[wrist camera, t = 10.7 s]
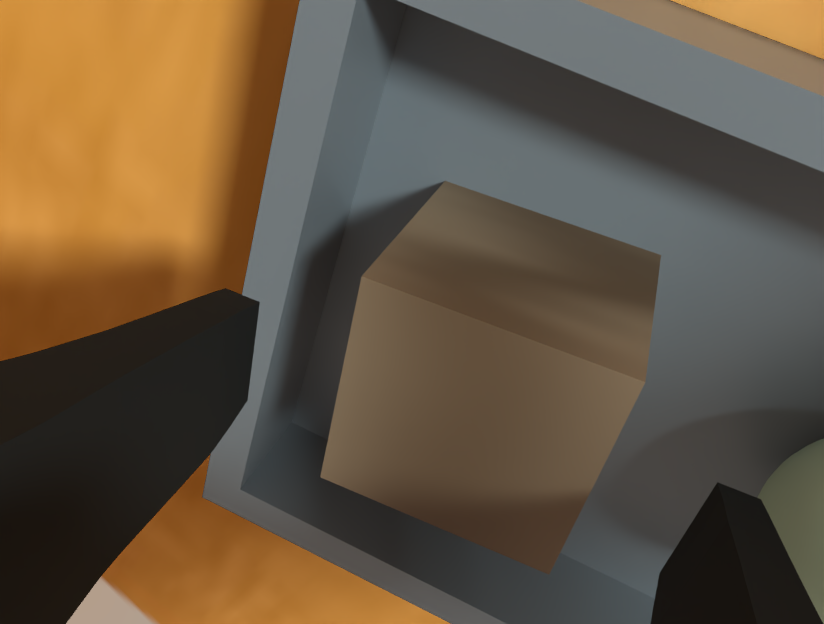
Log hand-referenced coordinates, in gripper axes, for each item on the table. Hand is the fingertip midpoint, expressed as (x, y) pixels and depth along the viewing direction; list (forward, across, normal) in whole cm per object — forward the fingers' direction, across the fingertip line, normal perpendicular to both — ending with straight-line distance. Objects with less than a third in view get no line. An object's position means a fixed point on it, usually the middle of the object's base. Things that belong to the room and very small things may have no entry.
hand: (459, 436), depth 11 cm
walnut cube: (+4, 0, 0) cm, 4 cm away
